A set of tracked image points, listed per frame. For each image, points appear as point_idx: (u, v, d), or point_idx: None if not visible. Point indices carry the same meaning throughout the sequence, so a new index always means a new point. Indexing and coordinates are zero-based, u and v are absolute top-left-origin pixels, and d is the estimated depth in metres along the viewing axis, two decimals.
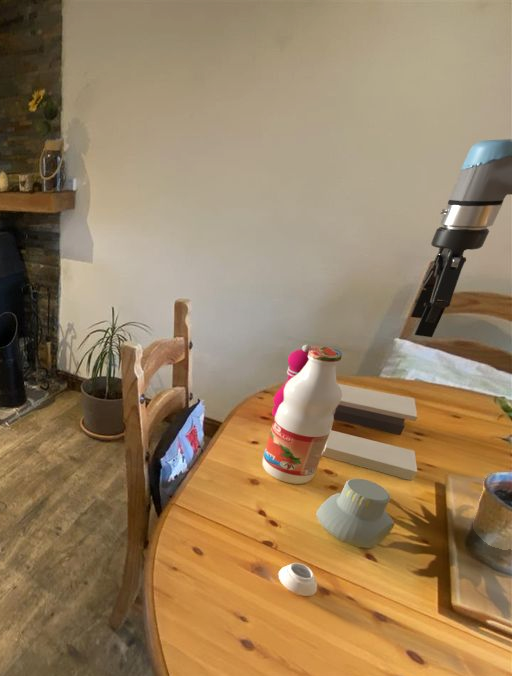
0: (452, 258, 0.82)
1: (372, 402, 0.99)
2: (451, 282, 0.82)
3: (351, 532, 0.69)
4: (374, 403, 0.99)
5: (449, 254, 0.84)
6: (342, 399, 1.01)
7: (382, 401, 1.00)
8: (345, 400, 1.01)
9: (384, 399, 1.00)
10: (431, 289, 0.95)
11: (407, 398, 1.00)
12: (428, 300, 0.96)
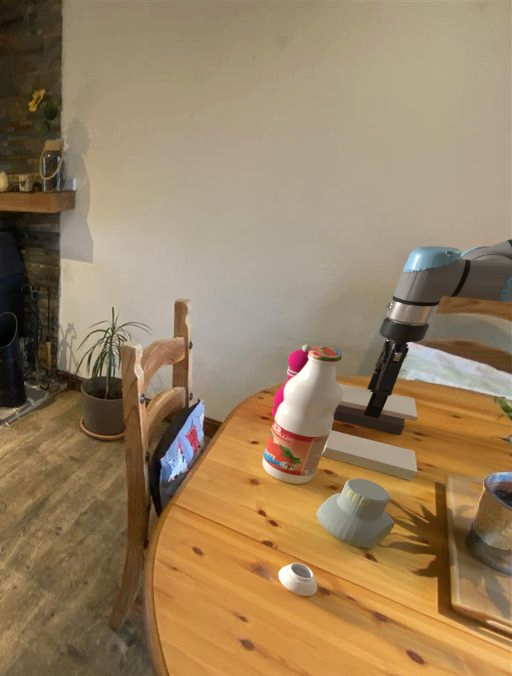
0: (394, 353, 0.90)
1: None
2: (393, 374, 0.91)
3: (351, 532, 0.69)
4: None
5: (393, 345, 0.92)
6: (342, 399, 1.01)
7: None
8: (345, 400, 1.01)
9: None
10: None
11: (407, 398, 1.00)
12: None
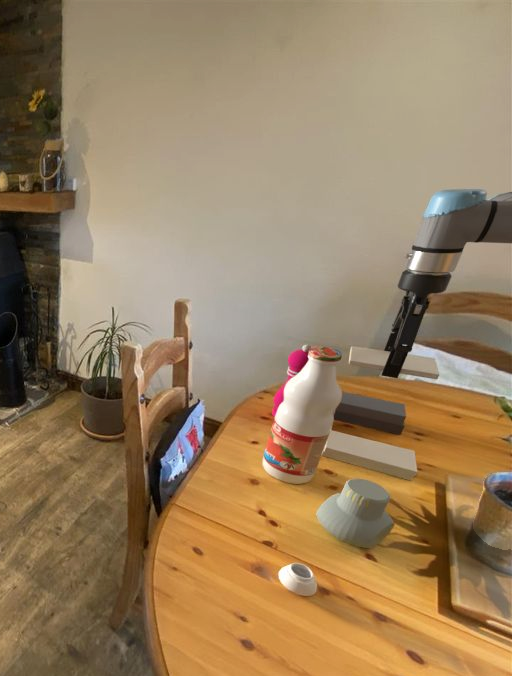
0: (414, 305, 0.85)
1: None
2: (413, 328, 0.86)
3: (351, 532, 0.69)
4: None
5: (413, 298, 0.86)
6: (358, 360, 0.96)
7: None
8: (361, 361, 0.96)
9: None
10: None
11: (427, 358, 0.95)
12: None
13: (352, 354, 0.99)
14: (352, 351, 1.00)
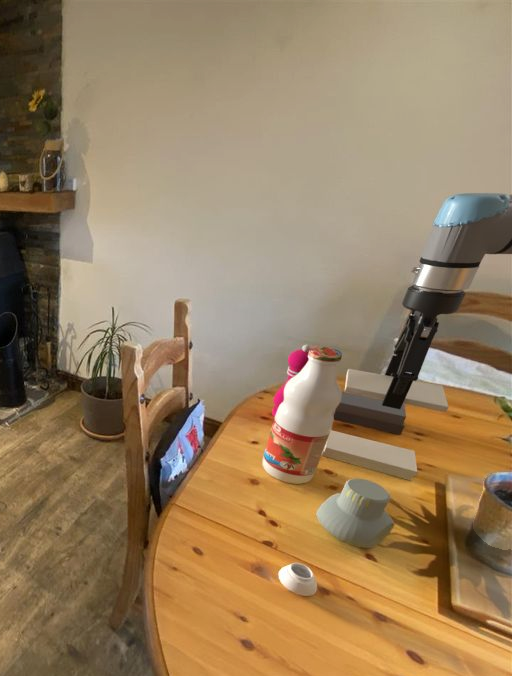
0: (422, 328, 0.73)
1: None
2: (420, 354, 0.74)
3: (351, 532, 0.69)
4: None
5: (420, 319, 0.75)
6: (355, 386, 0.84)
7: None
8: (359, 387, 0.84)
9: None
10: (403, 356, 0.85)
11: (434, 385, 0.83)
12: None
13: (348, 379, 0.87)
14: (349, 375, 0.89)
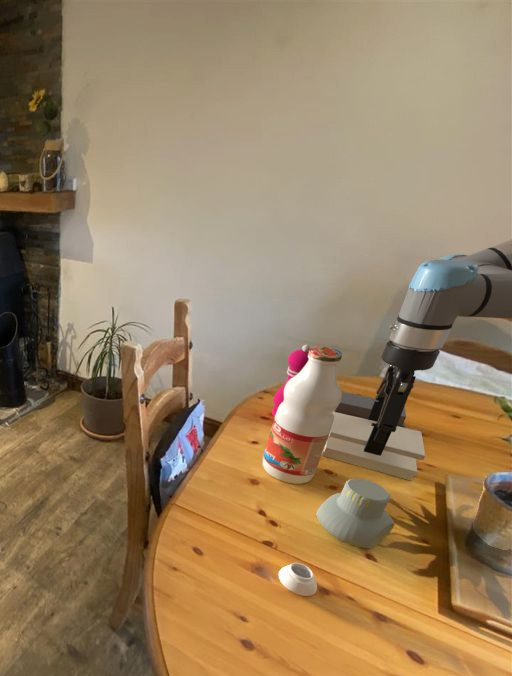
0: (399, 384, 0.77)
1: None
2: (397, 408, 0.78)
3: (351, 532, 0.69)
4: None
5: (398, 374, 0.79)
6: (339, 432, 0.89)
7: None
8: (342, 433, 0.88)
9: None
10: (384, 402, 0.90)
11: (413, 431, 0.88)
12: None
13: (333, 424, 0.92)
14: None
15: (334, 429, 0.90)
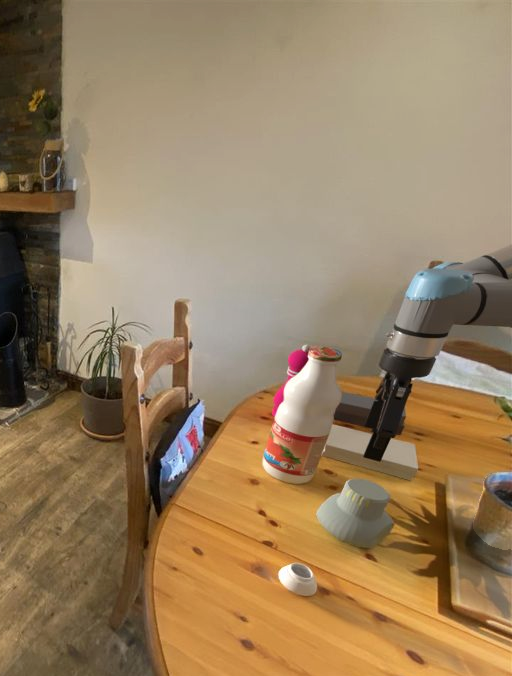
0: (397, 388, 0.78)
1: None
2: (396, 413, 0.78)
3: (351, 532, 0.69)
4: None
5: (395, 380, 0.80)
6: (334, 444, 0.90)
7: None
8: (337, 445, 0.90)
9: None
10: (383, 401, 0.91)
11: (407, 444, 0.89)
12: (380, 412, 0.92)
13: None
14: None
15: (329, 441, 0.91)
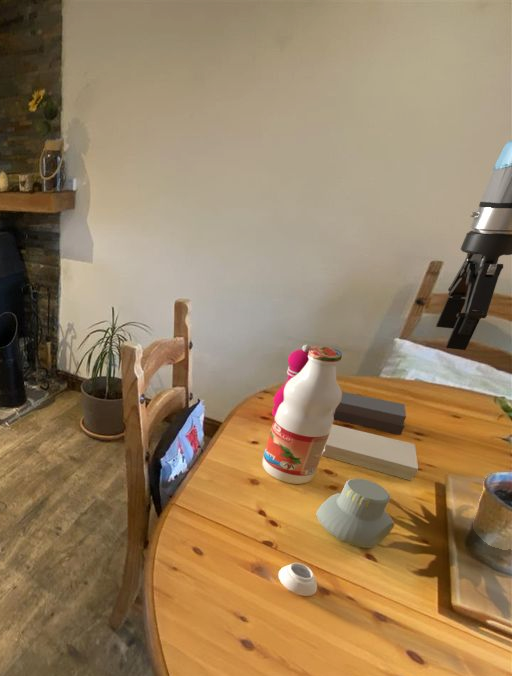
0: (487, 265, 0.75)
1: (368, 448, 0.88)
2: (487, 291, 0.76)
3: (351, 532, 0.69)
4: (369, 450, 0.88)
5: (483, 260, 0.77)
6: (334, 444, 0.90)
7: (379, 447, 0.89)
8: (337, 445, 0.90)
9: (381, 445, 0.89)
10: (458, 297, 0.89)
11: (407, 444, 0.89)
12: (455, 309, 0.89)
13: None
14: None
15: (329, 441, 0.91)
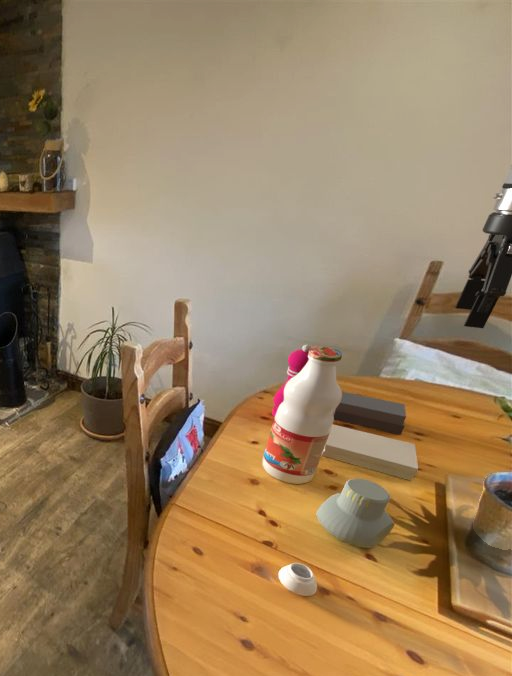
0: (508, 244, 0.78)
1: (368, 448, 0.88)
2: (507, 270, 0.78)
3: (351, 532, 0.69)
4: (369, 450, 0.88)
5: (504, 240, 0.80)
6: (334, 444, 0.90)
7: (379, 447, 0.89)
8: (337, 445, 0.90)
9: (381, 445, 0.89)
10: (478, 279, 0.91)
11: (407, 444, 0.89)
12: (475, 290, 0.92)
13: None
14: None
15: (329, 441, 0.91)
